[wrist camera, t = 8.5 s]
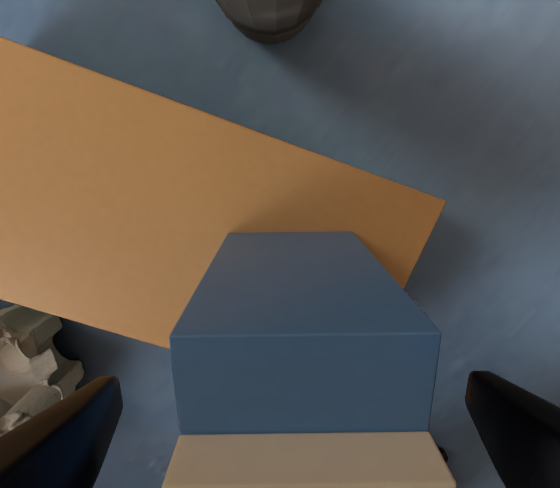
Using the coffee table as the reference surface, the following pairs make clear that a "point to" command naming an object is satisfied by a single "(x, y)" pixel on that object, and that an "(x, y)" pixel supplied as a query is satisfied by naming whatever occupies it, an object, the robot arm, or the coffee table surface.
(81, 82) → the board
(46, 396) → the egg carton
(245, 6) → the beverage cup
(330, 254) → the carton
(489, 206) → the coffee table surface
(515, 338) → the coffee table surface
